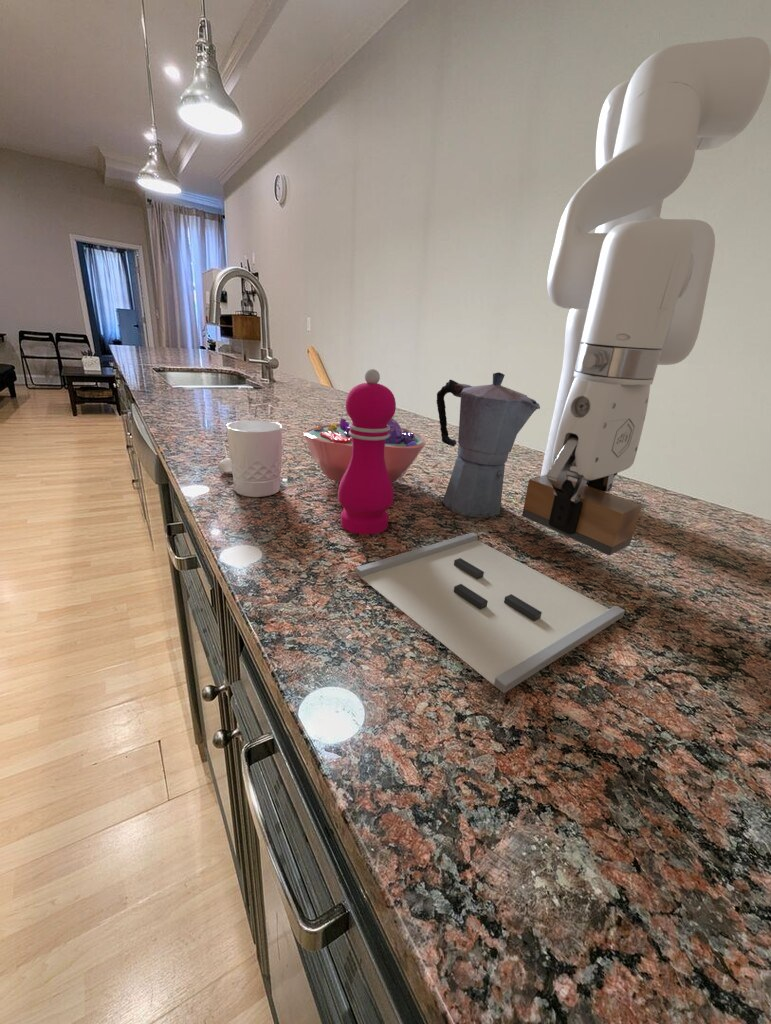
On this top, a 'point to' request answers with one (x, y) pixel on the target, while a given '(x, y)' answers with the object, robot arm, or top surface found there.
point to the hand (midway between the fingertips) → (574, 523)
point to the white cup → (255, 456)
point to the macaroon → (225, 466)
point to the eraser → (587, 515)
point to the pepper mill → (367, 458)
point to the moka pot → (482, 443)
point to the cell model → (336, 448)
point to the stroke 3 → (522, 607)
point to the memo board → (488, 607)
